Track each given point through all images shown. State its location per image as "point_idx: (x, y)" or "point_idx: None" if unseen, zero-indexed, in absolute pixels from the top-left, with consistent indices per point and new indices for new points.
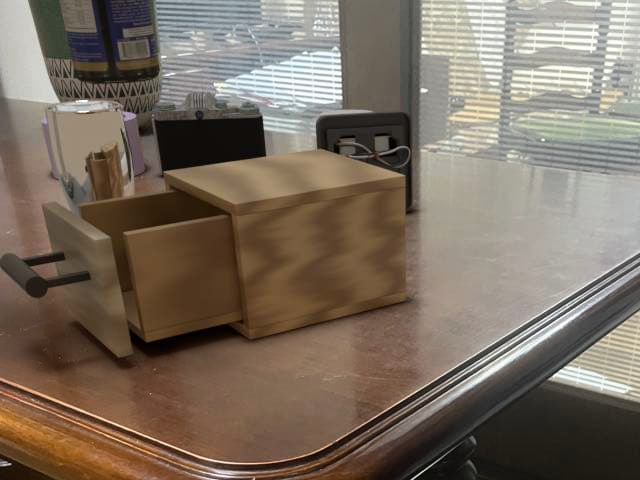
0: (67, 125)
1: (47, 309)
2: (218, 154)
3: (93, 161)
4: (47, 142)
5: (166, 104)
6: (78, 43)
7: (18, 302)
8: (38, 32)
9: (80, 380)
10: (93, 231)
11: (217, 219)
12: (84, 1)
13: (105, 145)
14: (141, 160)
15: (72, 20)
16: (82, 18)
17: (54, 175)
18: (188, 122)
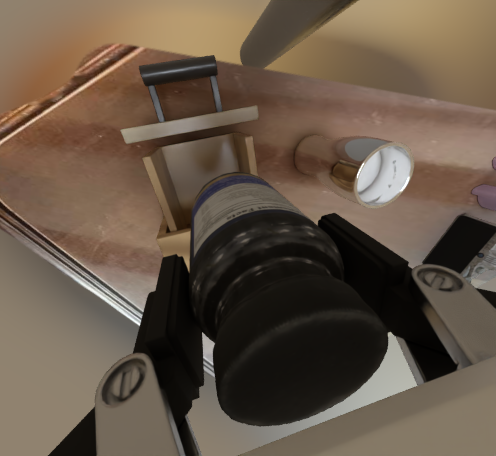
0: (358, 156)
1: (267, 99)
2: (448, 250)
3: (331, 166)
4: None
5: None
6: (213, 189)
7: (290, 81)
8: None
9: (133, 97)
10: (147, 133)
11: (167, 223)
12: (199, 225)
13: (336, 180)
14: (488, 208)
15: (219, 196)
16: (202, 210)
17: None
18: (481, 246)
